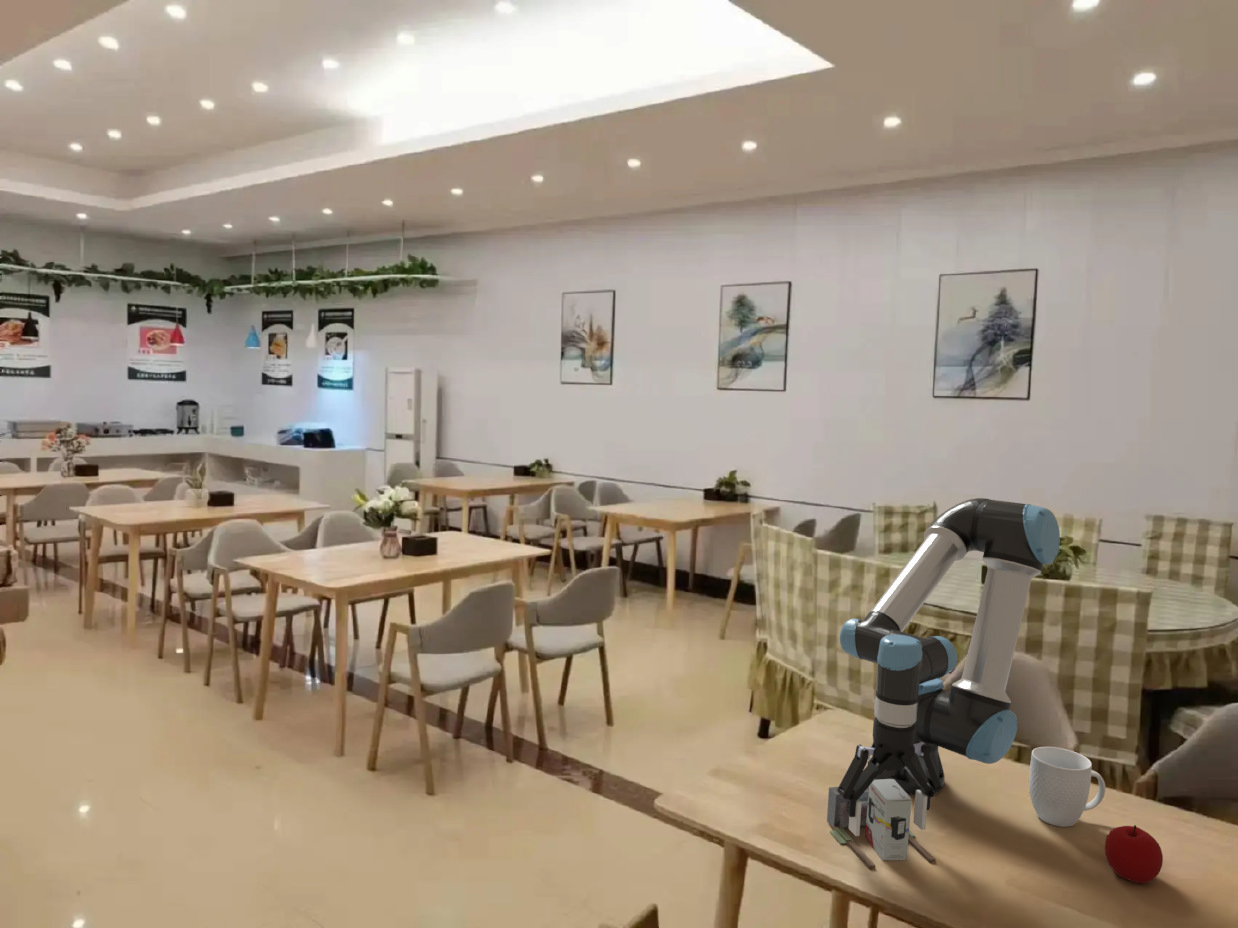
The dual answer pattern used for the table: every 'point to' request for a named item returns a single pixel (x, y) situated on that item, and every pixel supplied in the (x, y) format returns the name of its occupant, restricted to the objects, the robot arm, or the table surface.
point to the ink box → (888, 819)
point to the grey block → (844, 808)
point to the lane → (846, 839)
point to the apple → (1133, 854)
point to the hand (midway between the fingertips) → (886, 829)
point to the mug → (1061, 785)
